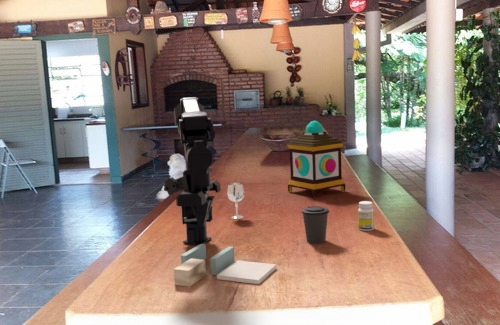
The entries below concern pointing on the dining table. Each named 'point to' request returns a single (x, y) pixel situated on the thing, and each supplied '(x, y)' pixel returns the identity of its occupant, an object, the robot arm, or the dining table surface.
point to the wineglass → (236, 196)
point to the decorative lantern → (315, 160)
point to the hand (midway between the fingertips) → (201, 226)
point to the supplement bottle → (365, 216)
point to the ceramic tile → (247, 272)
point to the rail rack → (217, 261)
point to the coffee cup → (315, 224)
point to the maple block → (189, 272)
